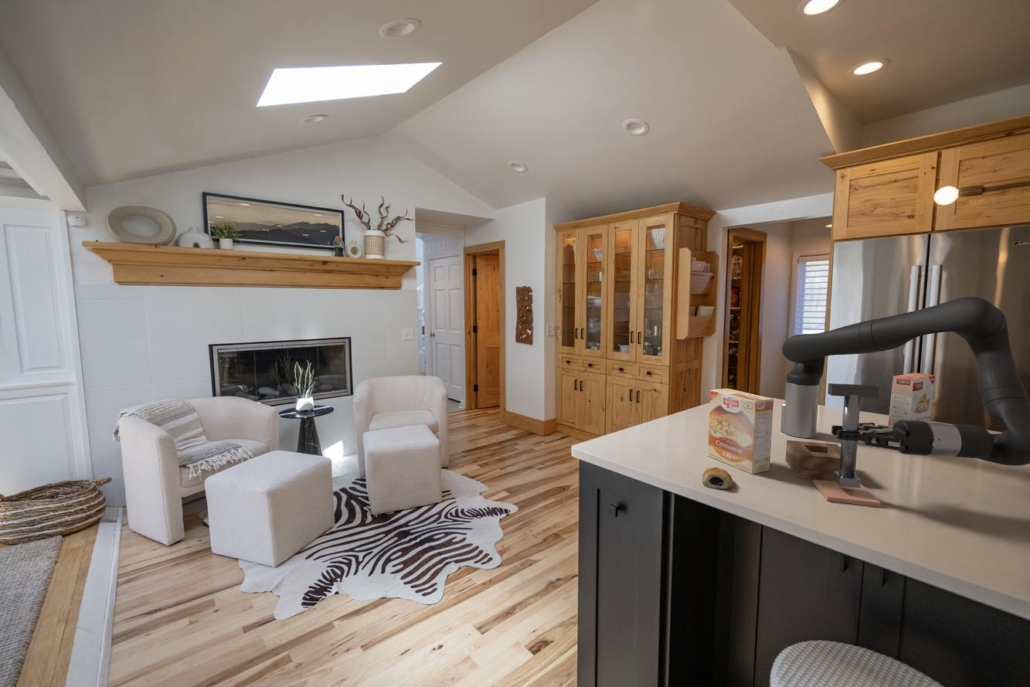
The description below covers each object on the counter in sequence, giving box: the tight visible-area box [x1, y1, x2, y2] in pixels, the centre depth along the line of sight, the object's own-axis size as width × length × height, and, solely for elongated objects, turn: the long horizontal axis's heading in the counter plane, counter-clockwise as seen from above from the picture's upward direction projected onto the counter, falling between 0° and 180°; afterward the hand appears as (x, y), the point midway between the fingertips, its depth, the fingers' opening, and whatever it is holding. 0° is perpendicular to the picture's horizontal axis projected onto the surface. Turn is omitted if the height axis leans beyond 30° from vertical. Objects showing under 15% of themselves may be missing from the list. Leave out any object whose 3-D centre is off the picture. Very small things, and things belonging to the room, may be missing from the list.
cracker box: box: [887, 372, 936, 428], centre depth 144 cm, size 14×6×21 cm, turn 118°
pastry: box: [701, 467, 733, 490], centre depth 113 cm, size 9×7×4 cm
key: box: [827, 382, 880, 488], centre depth 104 cm, size 9×4×23 cm, turn 73°
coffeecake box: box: [707, 388, 775, 475], centre depth 125 cm, size 15×7×20 cm, turn 23°
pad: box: [812, 479, 882, 508], centre depth 106 cm, size 10×10×1 cm
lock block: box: [785, 439, 841, 482], centre depth 120 cm, size 12×12×6 cm
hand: (835, 432), depth 105 cm, fingers closed on key, 3 cm apart
